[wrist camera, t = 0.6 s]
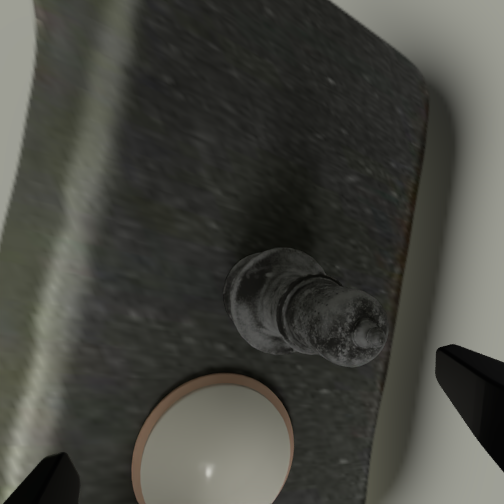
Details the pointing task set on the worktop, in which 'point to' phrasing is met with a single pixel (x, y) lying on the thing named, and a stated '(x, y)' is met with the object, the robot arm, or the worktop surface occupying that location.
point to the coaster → (214, 444)
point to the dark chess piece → (302, 309)
